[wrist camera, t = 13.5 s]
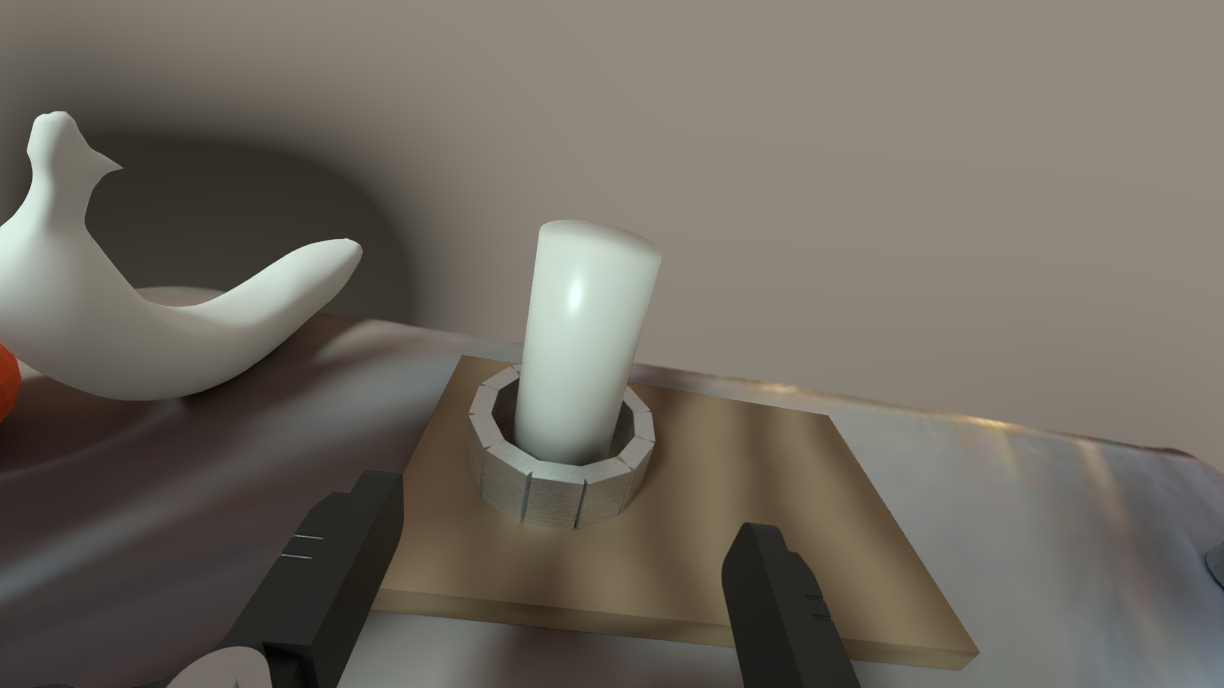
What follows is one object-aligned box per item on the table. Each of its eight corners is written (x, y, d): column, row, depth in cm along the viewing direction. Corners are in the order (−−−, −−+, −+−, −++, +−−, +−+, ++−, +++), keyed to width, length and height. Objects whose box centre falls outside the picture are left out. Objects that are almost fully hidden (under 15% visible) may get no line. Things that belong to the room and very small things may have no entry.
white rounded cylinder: (604, 433, 27) (656, 234, 21) (604, 501, 23) (668, 276, 17) (518, 420, 27) (546, 212, 21) (501, 487, 22) (531, 249, 17)
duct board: (819, 431, 35) (828, 415, 34) (960, 670, 21) (980, 652, 20) (461, 373, 32) (462, 354, 31) (350, 607, 18) (348, 584, 17)
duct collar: (634, 415, 29) (646, 376, 28) (645, 540, 22) (662, 495, 20) (489, 392, 28) (493, 350, 27) (445, 515, 21) (447, 465, 19)
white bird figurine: (369, 307, 37) (358, 99, 30) (138, 494, 20) (-16, 125, 13) (306, 293, 37) (279, 81, 29) (21, 471, 20) (-200, 84, 13)
